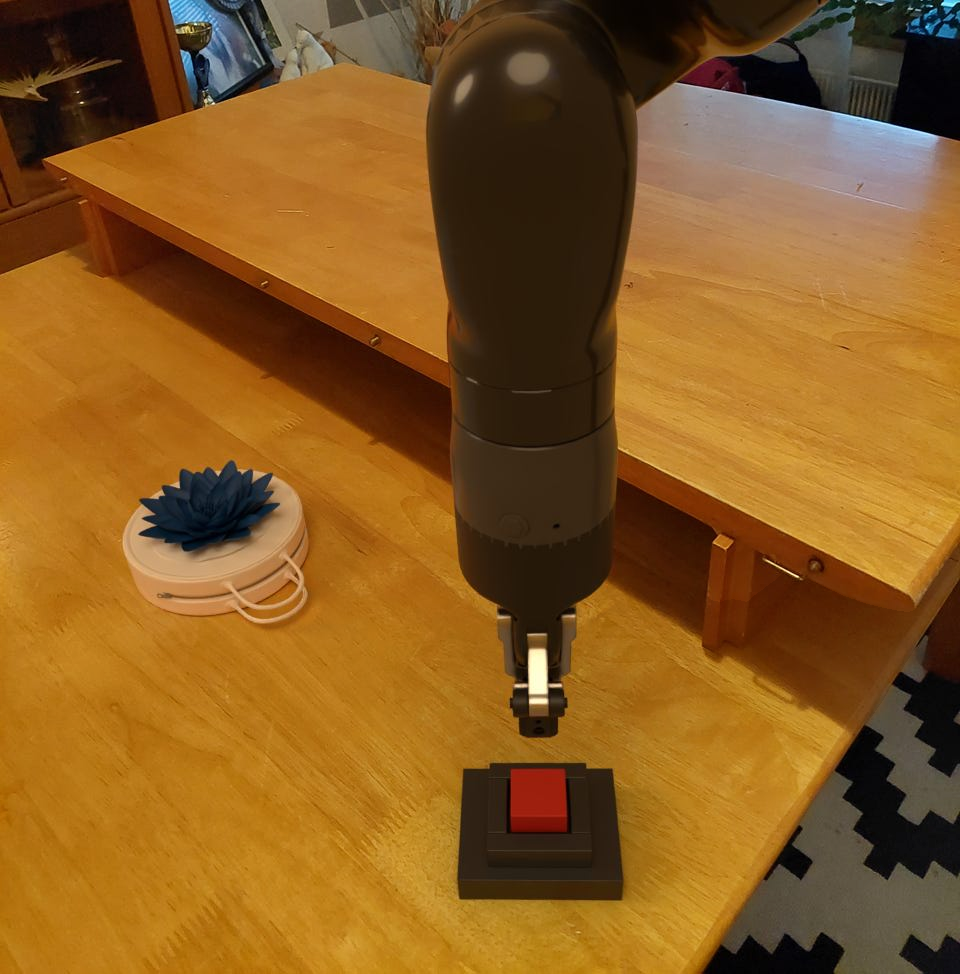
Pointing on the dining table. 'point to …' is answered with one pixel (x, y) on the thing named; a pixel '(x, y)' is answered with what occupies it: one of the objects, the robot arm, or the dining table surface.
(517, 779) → the red button cap
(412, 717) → the dining table surface
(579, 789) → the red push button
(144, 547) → the lotus flower trinket box
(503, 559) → the robot arm
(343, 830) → the dining table surface
